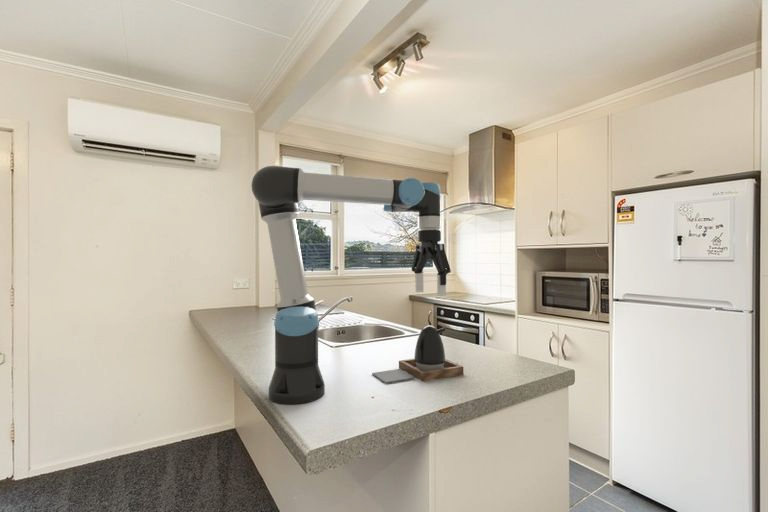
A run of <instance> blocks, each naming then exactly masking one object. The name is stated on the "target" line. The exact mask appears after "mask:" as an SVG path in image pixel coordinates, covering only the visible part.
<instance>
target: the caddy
mask: <svg viewBox="0 0 768 512" xmlns="http://www.w3.org/2000/svg"><path fill="white" fill-rule="evenodd" d="M398 369H401V370H403V371H404V372H406V373H408V374H410V375H411V376H413V377H415V379H417V380H419V381H421V382H427V381H432V380H438V379H444V378H445V379H446V378H449V377H450V378H451V377H456V376H462V375H464V366H463V365H461V364H458V363H456V362H454V361H451V360H449V359H446V358H445V362H444V366H443V368H442V369H437V370H431V371H424V372H423V371H421V370H420V369H418V367H417V365H416V362H415V360H414V358H408V359H403V360H402V359H401V360H398Z"/></svg>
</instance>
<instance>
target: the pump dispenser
mask: <svg viewBox="0 0 768 512" xmlns="http://www.w3.org/2000/svg"><path fill="white" fill-rule="evenodd" d="M445 331H447V329H446V327H441V328H439V329H438V328H436V327H435V326H433V325H429V324H428V325H426V326H424V327H423V328H422V329H421V330H420V333H419V335H418V338H417V341H416V344H415V350H414V356H413V357H414V358H413V359H414V360H415V362H416V365H417V367H416V368H418V369H420V370H421V371H423V372H424V371H431V370H437V369H443V368H444V367H443V366H444V362H445V359H446V353H445V352H446V351H445V346H444V342H443V339H442V337H441V333H443V332H445Z"/></svg>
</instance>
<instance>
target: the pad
mask: <svg viewBox="0 0 768 512" xmlns="http://www.w3.org/2000/svg"><path fill="white" fill-rule="evenodd" d="M371 375H372V376H373V377H375V378H376V379H377V380H379V381H380V382H382V383H384V385H389V384H395V383H400V382H401V383H402V382H407V381H413V380H415V379H416V378H415V377H414V376H412V375H410V374H408V373H407V372H405V371H403V370H402V369H400V368H395V369H390V370H389V369H388V370H382V371H376V372H372V373H371Z"/></svg>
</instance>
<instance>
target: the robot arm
mask: <svg viewBox="0 0 768 512" xmlns="http://www.w3.org/2000/svg"><path fill="white" fill-rule="evenodd" d="M251 191H252V194H253V196H254V198H255V199H256V200H257V203H258V208H259V213H260V220H262V221H263V222H265V223H266V224H267V231H268V235H269V240H270V246H271V252H272V258H273V265H274V269H275V275H276V276H275V277H276V281H277V287H278V293H279V298H280V299H279V302H278V303H277V305H276V310H277V312H276V313H275V316H274V317H275V318H274V319H275V320H274V324H273V325H274V349H275V350H274V353H275V354H274V355H275V357H274V363H275V364H274V370H273V375H272V377H271V380H270V383H269V387H268V399H269V401H272V402H274V403H277V404H282V405H296V404H305V403H309V402H312V401H313V402H314V401H315V400H318V399H321V398H322V397H323V396H324V395H325V390H326V389H325V386H326V385H325V382H324V378H323V375H322V373H321V370H320V367H319V327H320V319H319V315H318V311H317V308H316V302H315V298H314V297H312V296H311V295H309V291H308V285H307V279H306V273H305V267H304V263H303V262H304V261H303V257H302V250H301V243H300V239H299V238H300V237H299V233H298V228H297V221H296V220H297V218H298V217H299V215H300V211H299V205H298V204H300V203H301V202H303V201H319V202H333V203H352V204H363V205H364V204H365V205H367V204H368V205H379V206H381V207H382V210H383V211H384V212H386V213H387V212H391V213H405V212H406V213H407V212H409V213H411V212H412V213H417V230H418V231H417V241H418V242H419V243H421V244H416V245H415V252H414V253H415V254H414V258H413V261H412V267H411V271H412V272H414V276H415V278H414V279H415V293H424V271H423V270H424V268H425V266H426V264H427V261H428V260H429V259H431V260H432V262H433V264H434V266H435V269H436V271H437V274H436V281H437V283H436V286H437V288H436V289H437V291H436V292H437V296H438V297H441V296H443V297H444V296H446V295H447V286H446V285H447V275H448V274H451V272H452V269H451V267H450V264H449V260H448V257H447V254H446V251H445V243H439V242H441V241H442V233H441V230H440V229H441V226H442V225H441V198H442V196H441V187H440V184H439V183H437V182H432V181H431V182H430V181H428V182H427V181H426V182H422V181H420V180H419V179H417V178H414V177H410V178H409V177H408V178H405V179H404V180H401V179H392V178H391V179H390V178H379V177H378V178H377V177H365V176H354V175H353V176H351V175H341V174H340V175H338V174H327V173H326V174H325V173H315V172H305V171H304V170H303V169H302V168H300V167H290V166H279V165H268V166H265V167H262V168H260V169H259V170H257V171H256V173H255V174H254V176H253V177H252V181H251Z"/></svg>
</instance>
